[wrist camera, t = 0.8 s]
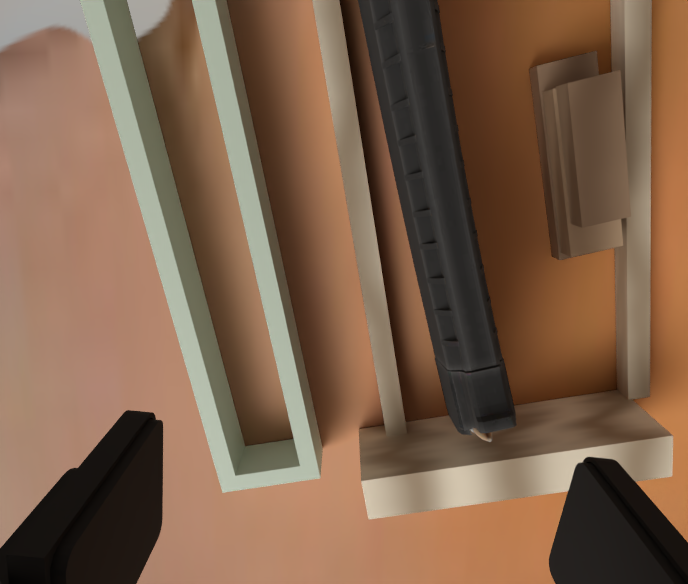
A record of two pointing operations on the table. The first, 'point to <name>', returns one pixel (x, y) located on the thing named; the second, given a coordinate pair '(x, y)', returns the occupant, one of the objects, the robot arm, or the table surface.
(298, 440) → the display holder
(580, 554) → the robot arm
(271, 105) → the table surface
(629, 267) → the rack
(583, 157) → the offcut stack
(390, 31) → the magazine
